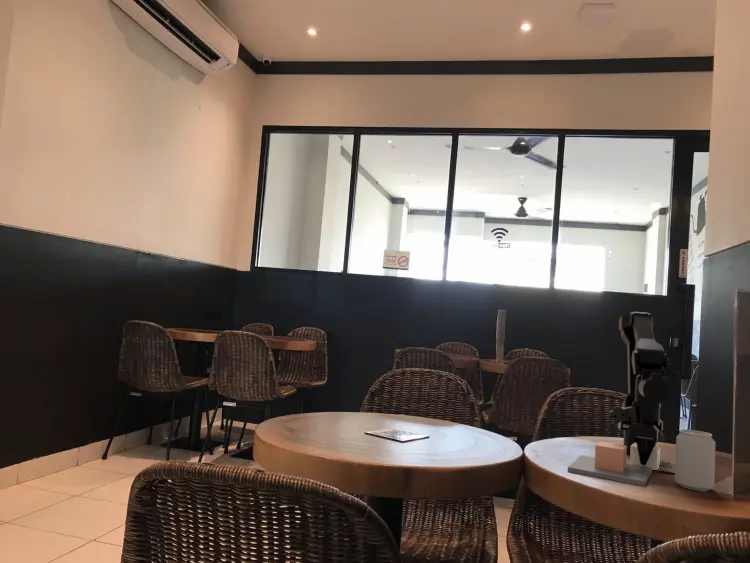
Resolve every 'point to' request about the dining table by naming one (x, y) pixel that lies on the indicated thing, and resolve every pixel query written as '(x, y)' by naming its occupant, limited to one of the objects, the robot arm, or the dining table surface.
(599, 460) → the brick terracotta
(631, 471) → the baseplate
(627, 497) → the dining table surface
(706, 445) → the can
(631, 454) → the brick cream
